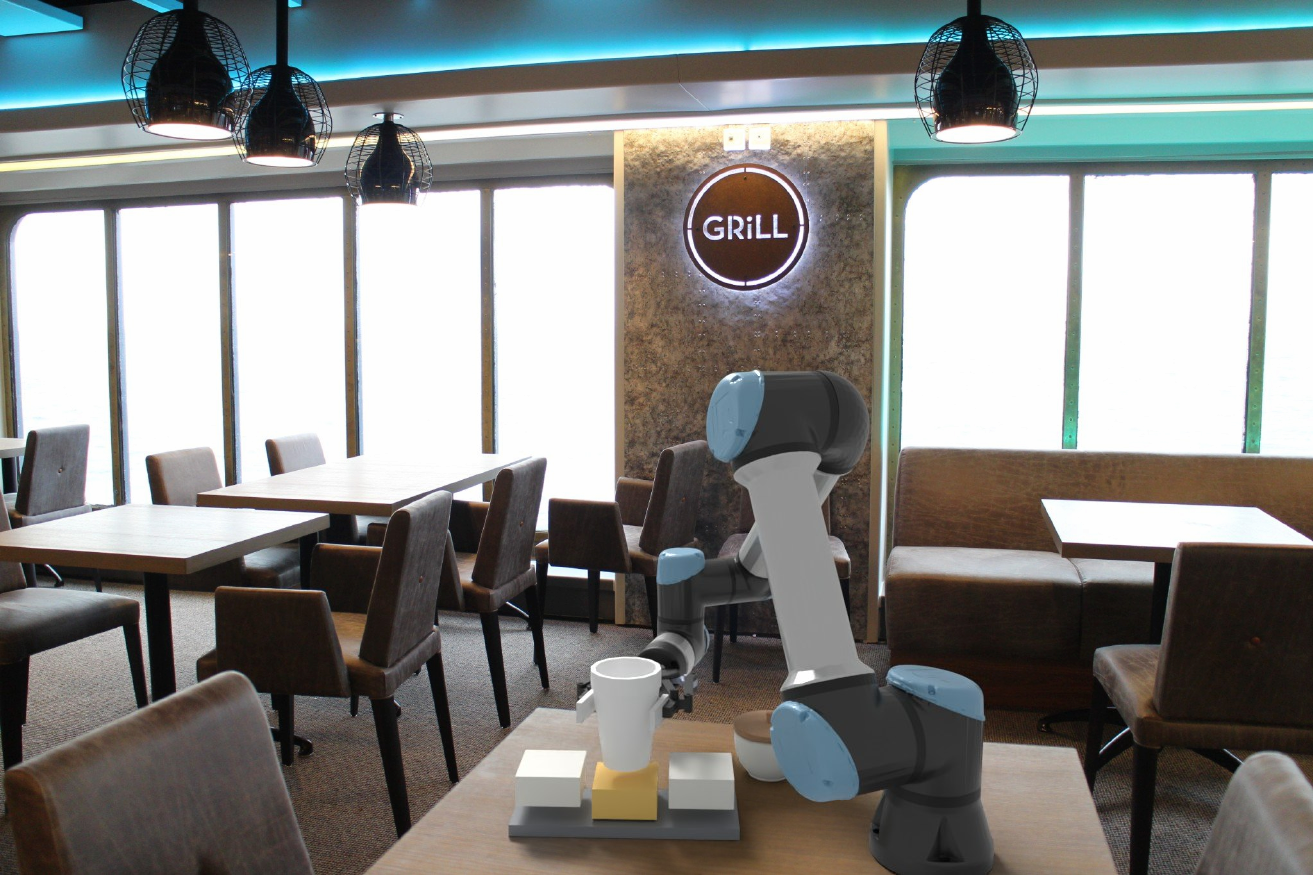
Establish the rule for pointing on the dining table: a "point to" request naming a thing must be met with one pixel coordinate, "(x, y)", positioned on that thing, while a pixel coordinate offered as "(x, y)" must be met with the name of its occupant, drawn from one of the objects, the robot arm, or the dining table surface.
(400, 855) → the dining table surface
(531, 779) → the key
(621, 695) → the foam cup
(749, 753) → the lidded jar
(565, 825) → the keypad base
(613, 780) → the amber key
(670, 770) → the key
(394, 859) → the dining table surface
